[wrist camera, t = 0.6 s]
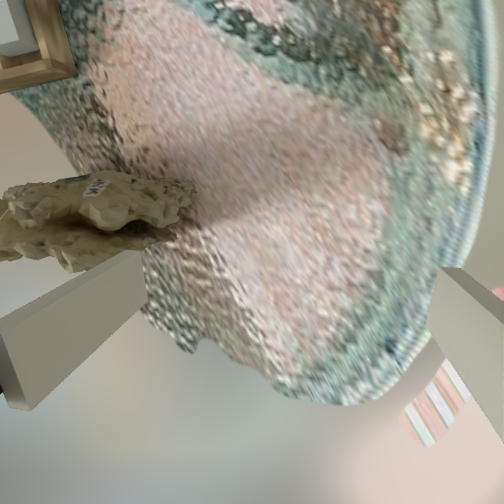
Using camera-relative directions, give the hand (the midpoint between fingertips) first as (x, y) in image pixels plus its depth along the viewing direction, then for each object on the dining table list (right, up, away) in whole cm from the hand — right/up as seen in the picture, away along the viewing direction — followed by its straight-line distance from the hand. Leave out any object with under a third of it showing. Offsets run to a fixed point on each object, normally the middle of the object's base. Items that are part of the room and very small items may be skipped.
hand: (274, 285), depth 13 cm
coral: (-20, +9, +30) cm, 37 cm away
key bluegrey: (-29, +30, +21) cm, 47 cm away
